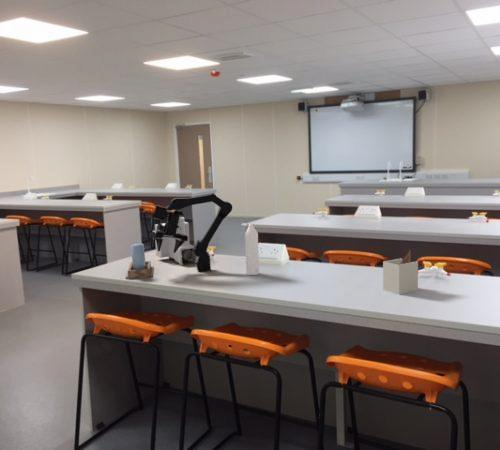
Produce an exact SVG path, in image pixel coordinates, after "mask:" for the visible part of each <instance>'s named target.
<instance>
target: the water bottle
mask: <svg viewBox="0 0 500 450" xmlns="http://www.w3.org/2000/svg"><path fill="white" fill-rule="evenodd" d="M246 226H247V223H245V222H244V223H241V227H246ZM244 243H245V250H244V251H245V264H246V266H245V270H246V272H245V273H246V275H248V276H257V275H259V274H260V258H259V256H260V254H259V251H260V250H259V233H258V231H257V229H255V226H254V224H253V223H249V224H248V227H247V229H246V231H245V233H244Z"/></svg>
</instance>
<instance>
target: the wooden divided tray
mask: <svg viewBox="0 0 500 450" xmlns="http://www.w3.org/2000/svg"><path fill="white" fill-rule="evenodd" d="M145 264H146V269H140V270H133V264H132V261H131V262H130V264H129V266H128V269H127V271H126V272H127V273H126V276H125V279H126V280H128V279H130V280H131V279H143V278H153V274H154V266H152V265H151V260H148V261H146V260H145Z"/></svg>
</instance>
